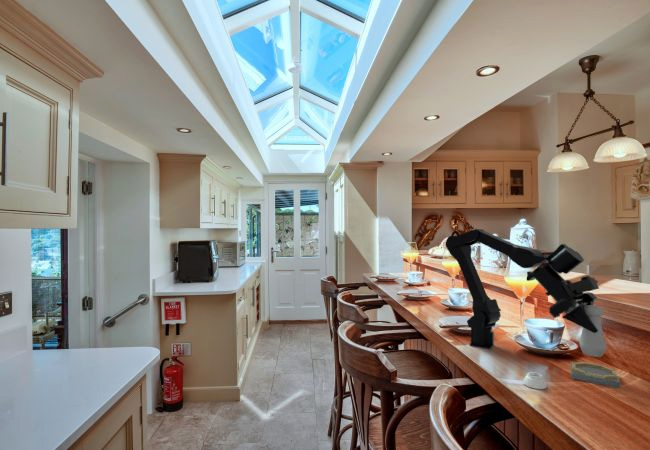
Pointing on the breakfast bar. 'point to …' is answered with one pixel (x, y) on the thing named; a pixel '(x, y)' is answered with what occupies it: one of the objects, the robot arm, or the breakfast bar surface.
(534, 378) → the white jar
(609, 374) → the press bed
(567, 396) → the breakfast bar surface
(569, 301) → the robot arm
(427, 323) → the breakfast bar surface
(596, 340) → the salt shaker
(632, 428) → the breakfast bar surface
